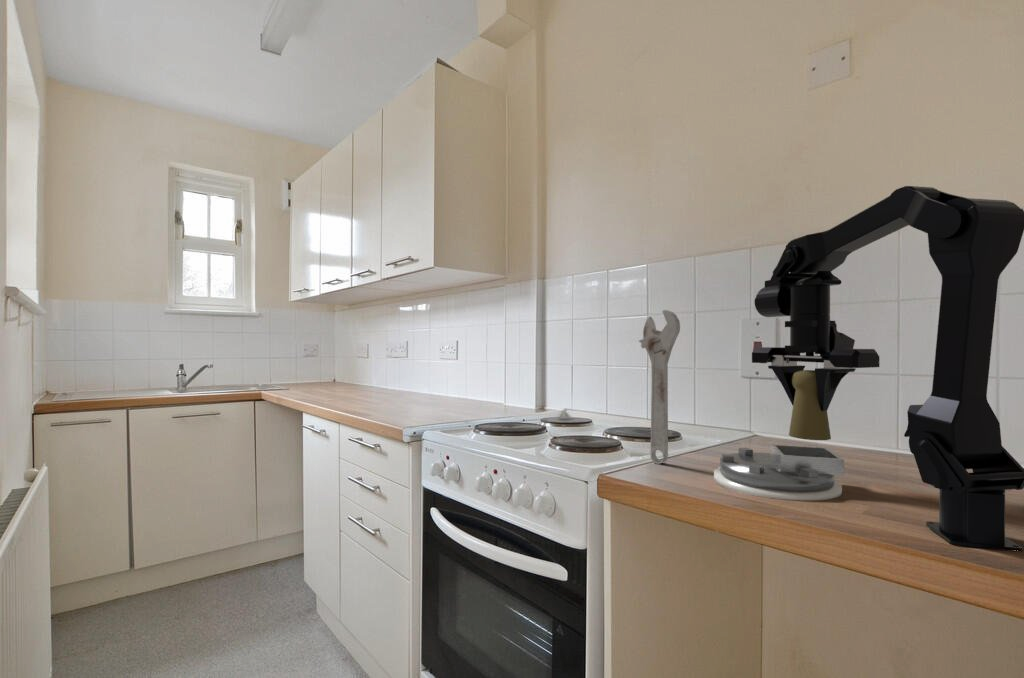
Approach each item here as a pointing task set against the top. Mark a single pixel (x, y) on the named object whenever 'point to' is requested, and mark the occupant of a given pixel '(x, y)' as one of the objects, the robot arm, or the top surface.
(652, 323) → the wrench
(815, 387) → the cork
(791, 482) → the grey tabbed disc
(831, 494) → the base plate
